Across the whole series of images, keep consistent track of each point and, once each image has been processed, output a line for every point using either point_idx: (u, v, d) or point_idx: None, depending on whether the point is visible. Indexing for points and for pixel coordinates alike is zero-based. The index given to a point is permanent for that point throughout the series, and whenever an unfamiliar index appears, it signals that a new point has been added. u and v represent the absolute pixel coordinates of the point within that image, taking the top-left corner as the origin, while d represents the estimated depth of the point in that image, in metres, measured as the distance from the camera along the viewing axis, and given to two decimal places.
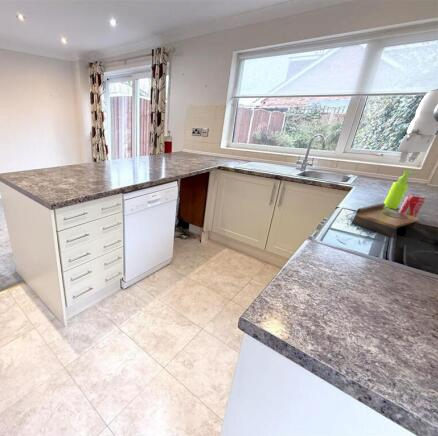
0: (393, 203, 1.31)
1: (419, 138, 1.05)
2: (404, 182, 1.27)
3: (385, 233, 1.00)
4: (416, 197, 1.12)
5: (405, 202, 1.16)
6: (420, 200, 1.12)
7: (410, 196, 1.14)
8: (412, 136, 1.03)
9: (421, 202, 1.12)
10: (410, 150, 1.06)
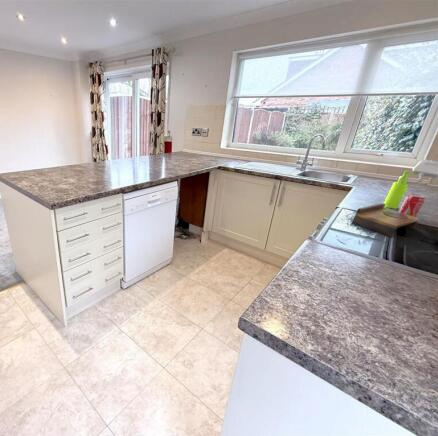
0: (393, 203, 1.31)
1: (435, 163, 1.20)
2: (404, 182, 1.27)
3: (385, 233, 1.00)
4: (416, 197, 1.12)
5: (405, 202, 1.16)
6: (420, 200, 1.12)
7: (410, 196, 1.14)
8: None
9: (421, 202, 1.12)
10: (419, 169, 1.22)
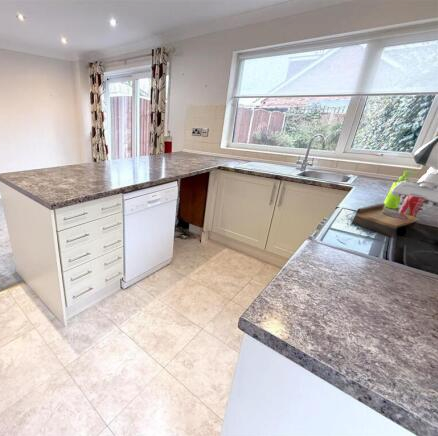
0: (393, 203, 1.31)
1: (413, 185, 1.18)
2: None
3: (385, 233, 1.00)
4: (416, 197, 1.12)
5: (405, 202, 1.16)
6: (420, 200, 1.12)
7: (410, 196, 1.14)
8: None
9: (421, 202, 1.12)
10: (398, 190, 1.21)
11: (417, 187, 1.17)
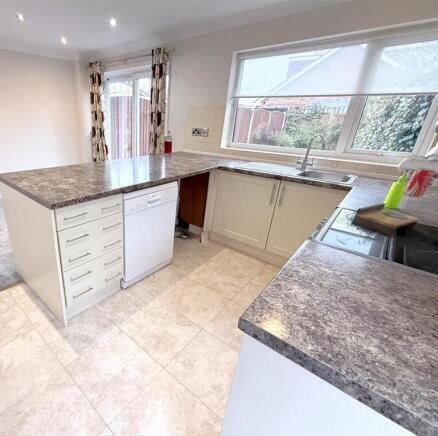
0: (393, 203, 1.31)
1: (421, 159, 1.09)
2: (404, 182, 1.27)
3: (385, 233, 1.00)
4: (425, 171, 1.04)
5: (413, 177, 1.07)
6: (429, 174, 1.03)
7: (418, 170, 1.05)
8: None
9: (430, 176, 1.03)
10: (405, 166, 1.12)
11: (426, 161, 1.08)
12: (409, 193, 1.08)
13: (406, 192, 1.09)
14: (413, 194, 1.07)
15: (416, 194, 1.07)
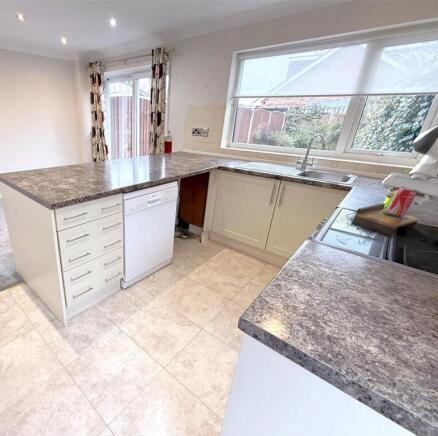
0: None
1: (405, 176, 1.08)
2: None
3: (385, 233, 1.00)
4: (407, 190, 1.02)
5: (395, 196, 1.05)
6: (411, 193, 1.01)
7: (400, 189, 1.04)
8: None
9: (412, 196, 1.02)
10: (388, 183, 1.10)
11: (409, 179, 1.06)
12: (391, 212, 1.07)
13: (388, 211, 1.08)
14: (395, 213, 1.06)
15: (398, 213, 1.05)
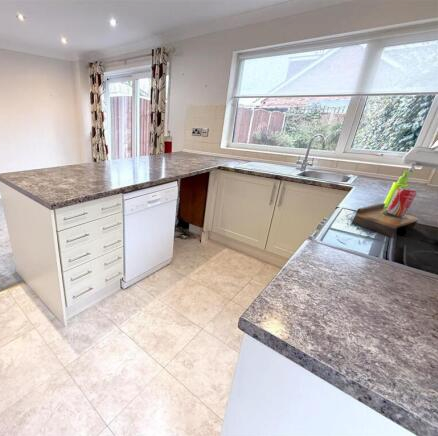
0: None
1: (427, 150, 1.07)
2: (404, 182, 1.27)
3: (385, 233, 1.00)
4: (407, 190, 1.02)
5: (395, 196, 1.05)
6: (411, 193, 1.01)
7: (400, 189, 1.04)
8: None
9: (412, 196, 1.02)
10: (410, 157, 1.10)
11: (432, 152, 1.06)
12: (391, 212, 1.07)
13: (388, 211, 1.08)
14: (395, 213, 1.06)
15: (398, 213, 1.05)
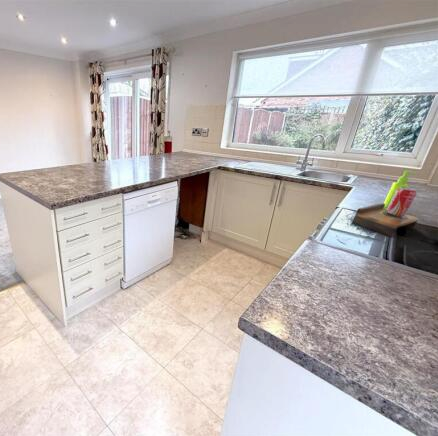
0: None
1: None
2: (404, 182, 1.27)
3: (385, 233, 1.00)
4: (407, 190, 1.02)
5: (395, 196, 1.05)
6: (411, 193, 1.01)
7: (400, 189, 1.04)
8: None
9: (412, 196, 1.02)
10: None
11: None
12: (391, 212, 1.07)
13: (388, 211, 1.08)
14: (395, 213, 1.06)
15: (398, 213, 1.05)
